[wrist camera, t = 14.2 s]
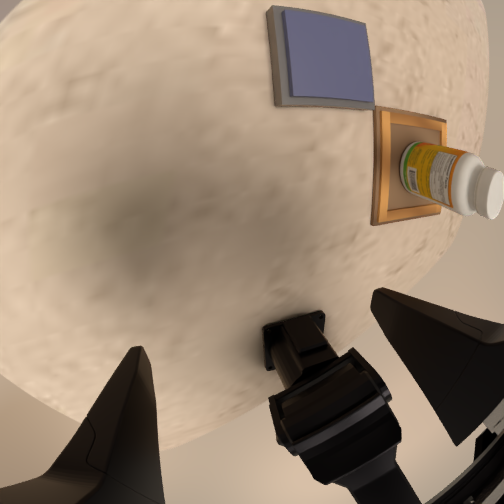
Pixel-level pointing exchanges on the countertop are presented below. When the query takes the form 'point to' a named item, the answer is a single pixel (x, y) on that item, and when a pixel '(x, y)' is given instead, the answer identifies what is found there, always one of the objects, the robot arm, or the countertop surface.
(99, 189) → the countertop surface
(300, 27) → the ink pad
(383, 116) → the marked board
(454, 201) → the supplement bottle
